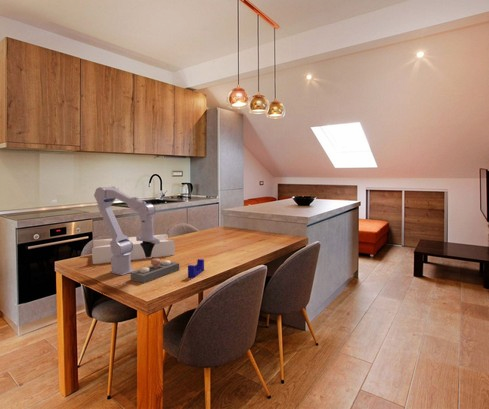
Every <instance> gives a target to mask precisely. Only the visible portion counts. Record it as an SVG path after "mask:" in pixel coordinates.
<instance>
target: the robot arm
mask: <svg viewBox="0 0 489 409" xmlns="http://www.w3.org/2000/svg"><path fill="white" fill-rule="evenodd" d="M93 197H94V199H95V201H96V203H97V207H98V210H99V212H100V214H101V218H102V219H103V221H104V224H105V226H106V227H107V228H106V229H107V230H108V232H109V234H110V237H111V239H112V241H111V242H110V246H111V252H112V254H113V256H112V258H111V262H110V263H111V270H110V271H109V272H110V273H112V274H115V275H120V276H124V275H126V274H130V272H133V271H136V270H135V269H132V266H131V264H132V263H131V262H132V260H131V258H130V254H131V251H132V250H133V243H132V242H131V241H130V240H129V238H128V237H129V236H128V235H125V234H124V233H123V231H122V229H121V226H120V224H119V222H118V220H117V218H116V216H115V213H114V210H113V208H112V207H111V206H112V205H113V203H115V201H116V199H117V200H118V201H120V202H123V203H124V204H127V207H128V208H129V209H131V210H133V211H134V212H136V213H137V214H138V216H139V220H140V232H141V233H140V235H141V236H140V235H139V236H135V237H136V241H143V242H142V243H140V245H141V246H142V248H143V250H144V253H145V256H146V257H147V258H146V259H149V258H148V257H151V253H152V249H153V247H154V245H155V244H160V240H159V239H156V238H154V235H155V232H154V215H155V213H156V207H155V205H154V204H152V203H147V201H143V200H141V199H139V197H138V196H133V197H131V196H129V195H128V194H126V193H124V192H123V191H121V190H120V189H119V188H117V187H115V186H107V187H106V186H105V187H101V186H99V187H97V188H96V189H95V191H94V194H93ZM119 242H120V243H119Z"/></svg>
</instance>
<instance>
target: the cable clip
mask: <svg viewBox="0 0 489 409" xmlns="http://www.w3.org/2000/svg"><path fill="white" fill-rule="evenodd" d="M204 271H205V259H201V258H198V259H197V263H196V264H188V265H187V278H189V279H194V278H196V277H197V276H199V275H200V274H202V273H203V272H204Z"/></svg>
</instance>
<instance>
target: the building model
mask: <svg viewBox="0 0 489 409" xmlns="http://www.w3.org/2000/svg"><path fill="white" fill-rule="evenodd" d="M127 237H128V238H129V240H130V241H131V242H132V243H133V250H132V251H131V254H130V258H131V261H134V260H135V261H136V260H143V258H144V259H151V258H152V257H154V258H160V257H162V256H163V257H172V256H175V255H176V251H175V250H176V249H175V248H176V247H175V244H176V243H175V240H169V234H167V233H166V234H154V238H156V239H159V240H160V244H155V245H154V247H153V249H152V253H151V257H148V258H147V257H146V256H145V253H144V250H143V248H142V246H141V245H140V243H142V242H143V241H136V237H137V236H127ZM92 241H93V242H92V243H93V244H92V245H93V246H92V248H91V255H92V256H91V258H92V264H93V265H98V264H105V263H107V264H108V263H111V258H112V256H113V254H112V252H111V246H110V242H111V241H112V238H106V239H105V238H104V239H93V240H92ZM119 243H120V242H119ZM171 255H172V256H171ZM163 257H162V258H163ZM152 259H153V258H152Z"/></svg>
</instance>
